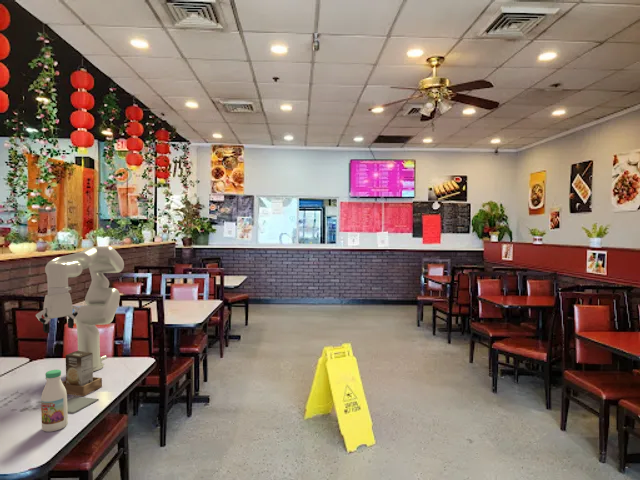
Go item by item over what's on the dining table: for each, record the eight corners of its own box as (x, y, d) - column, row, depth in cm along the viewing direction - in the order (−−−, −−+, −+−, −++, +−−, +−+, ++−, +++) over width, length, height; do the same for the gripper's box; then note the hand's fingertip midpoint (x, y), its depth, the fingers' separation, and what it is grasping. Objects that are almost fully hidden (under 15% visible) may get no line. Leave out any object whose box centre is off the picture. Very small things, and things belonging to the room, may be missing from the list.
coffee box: (65, 391, 176) (64, 354, 175) (78, 386, 182) (77, 350, 182) (81, 394, 173) (80, 356, 172) (94, 388, 179) (93, 352, 179)
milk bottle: (49, 422, 149) (48, 368, 148) (72, 421, 149) (70, 367, 148) (37, 433, 141) (35, 375, 140) (60, 431, 142) (58, 375, 141)
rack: (77, 384, 184) (76, 375, 184) (102, 386, 181) (101, 377, 181) (57, 393, 174) (56, 384, 174) (83, 396, 171) (82, 386, 171)
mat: (74, 397, 170) (74, 396, 170) (98, 400, 167) (98, 398, 167) (48, 410, 158) (48, 408, 158) (73, 413, 155) (73, 412, 155)
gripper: (74, 287, 186) (75, 325, 187) (31, 293, 172) (32, 333, 172) (83, 289, 182) (84, 327, 183) (40, 294, 168) (41, 335, 168)
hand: (59, 330), depth 177 cm, fingers open, 9 cm apart
